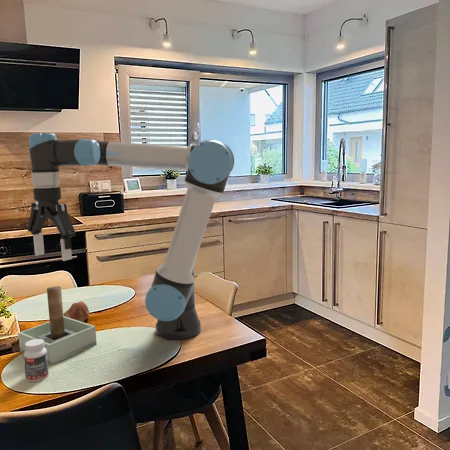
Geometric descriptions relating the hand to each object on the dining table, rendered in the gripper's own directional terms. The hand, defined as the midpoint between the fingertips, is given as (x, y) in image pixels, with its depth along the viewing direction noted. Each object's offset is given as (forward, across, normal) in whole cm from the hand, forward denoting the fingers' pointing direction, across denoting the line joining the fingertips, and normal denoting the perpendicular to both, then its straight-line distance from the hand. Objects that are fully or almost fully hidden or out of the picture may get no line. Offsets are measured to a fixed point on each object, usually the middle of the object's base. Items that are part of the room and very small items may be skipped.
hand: (53, 257), depth 129 cm
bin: (+29, 0, +1) cm, 29 cm away
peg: (+28, 0, +1) cm, 28 cm away
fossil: (+29, +13, -16) cm, 36 cm away
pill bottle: (+29, -11, +15) cm, 34 cm away
